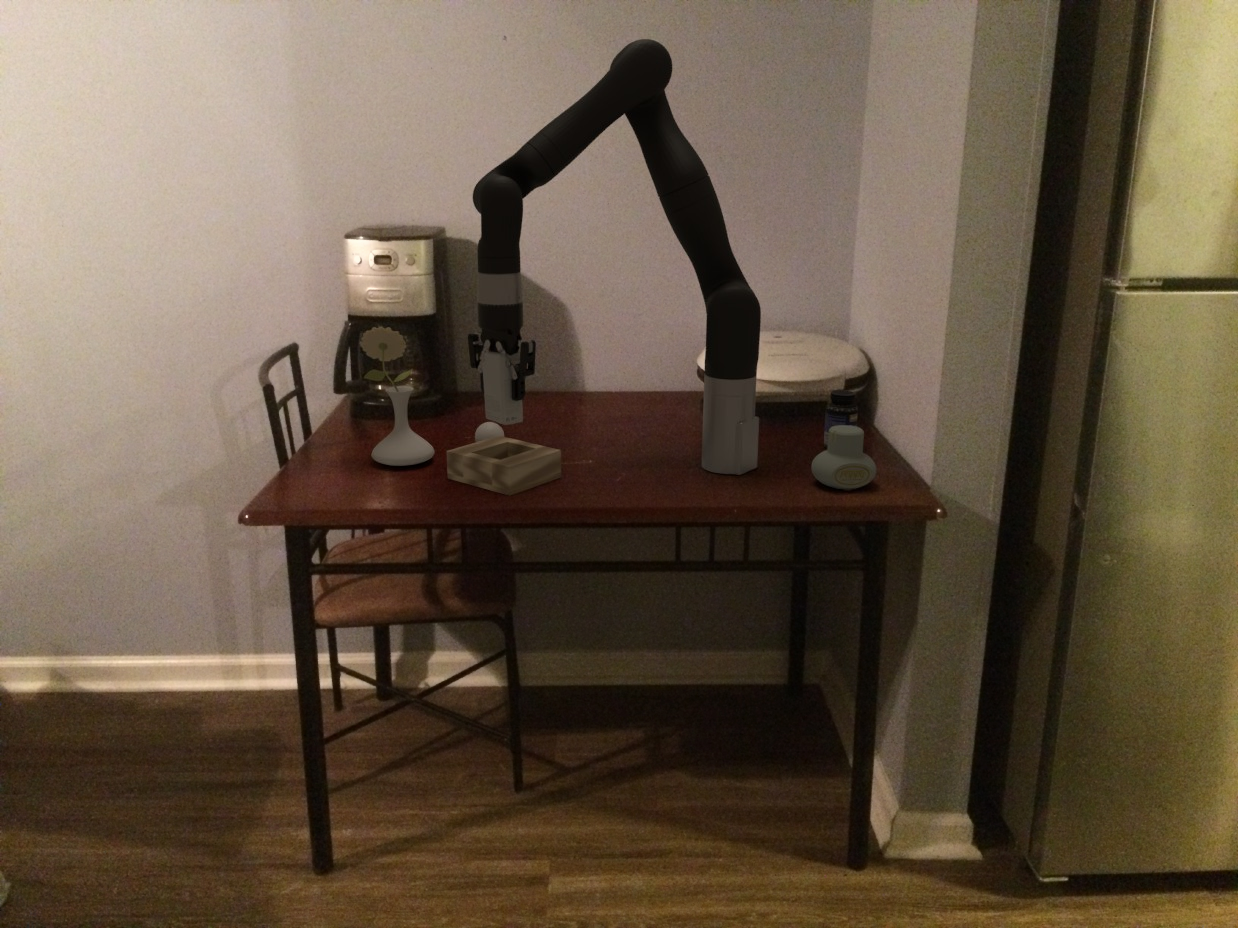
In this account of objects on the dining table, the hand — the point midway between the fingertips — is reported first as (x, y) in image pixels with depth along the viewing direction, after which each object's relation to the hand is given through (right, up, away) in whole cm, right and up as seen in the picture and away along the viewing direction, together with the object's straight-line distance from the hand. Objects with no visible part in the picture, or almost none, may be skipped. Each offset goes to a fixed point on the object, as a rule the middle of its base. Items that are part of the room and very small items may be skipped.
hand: (502, 396), depth 175 cm
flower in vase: (-21, -11, +13) cm, 27 cm away
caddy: (0, -14, +4) cm, 15 cm away
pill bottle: (+63, -9, +24) cm, 68 cm away
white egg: (-6, -9, +21) cm, 23 cm away
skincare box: (0, -4, +1) cm, 4 cm away
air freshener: (+59, -15, +2) cm, 61 cm away
